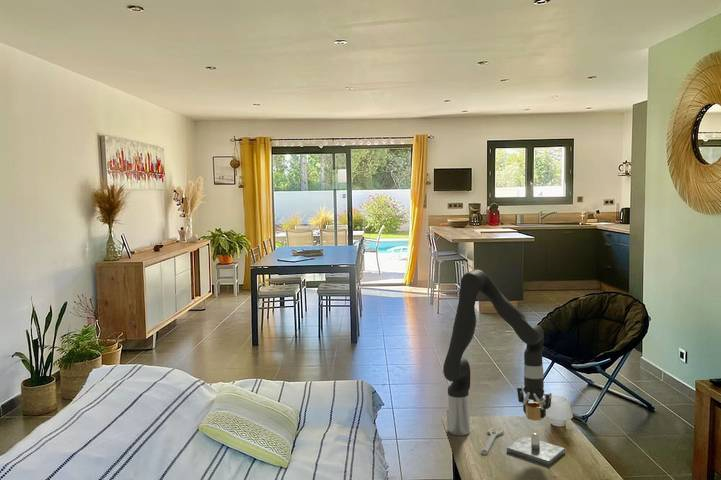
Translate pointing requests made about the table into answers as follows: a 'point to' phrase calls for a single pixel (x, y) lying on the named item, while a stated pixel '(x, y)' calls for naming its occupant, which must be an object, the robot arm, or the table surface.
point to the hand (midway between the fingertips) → (534, 415)
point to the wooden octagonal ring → (533, 411)
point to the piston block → (536, 450)
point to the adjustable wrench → (491, 439)
